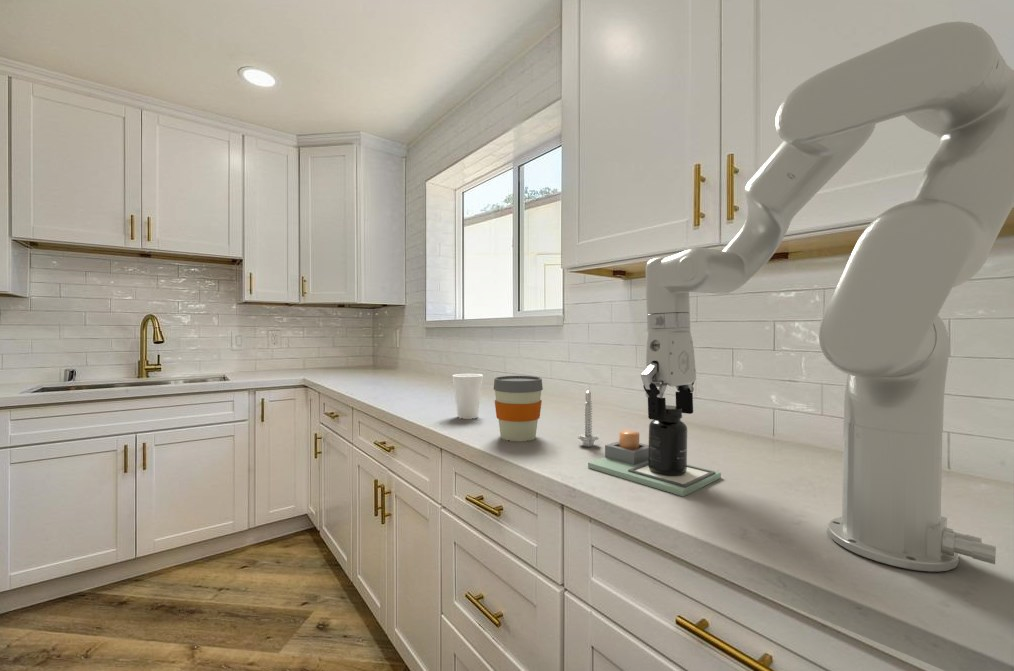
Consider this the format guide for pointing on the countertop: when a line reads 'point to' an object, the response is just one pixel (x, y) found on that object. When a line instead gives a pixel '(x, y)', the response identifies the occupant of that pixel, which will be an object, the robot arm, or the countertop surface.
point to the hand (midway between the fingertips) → (671, 416)
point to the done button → (629, 439)
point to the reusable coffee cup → (518, 406)
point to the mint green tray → (637, 470)
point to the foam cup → (467, 394)
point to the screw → (588, 424)
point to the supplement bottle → (668, 444)
